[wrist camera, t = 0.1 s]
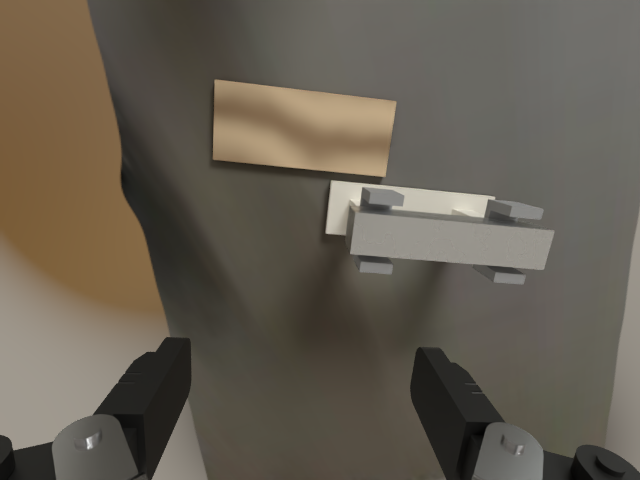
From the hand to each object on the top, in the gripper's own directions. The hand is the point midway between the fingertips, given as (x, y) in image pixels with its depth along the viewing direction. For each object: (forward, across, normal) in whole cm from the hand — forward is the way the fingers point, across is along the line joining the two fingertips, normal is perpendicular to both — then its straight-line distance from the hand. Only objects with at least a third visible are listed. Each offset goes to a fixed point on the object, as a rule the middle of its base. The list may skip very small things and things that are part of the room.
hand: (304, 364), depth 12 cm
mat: (+29, 0, -9) cm, 30 cm away
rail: (+20, -13, -1) cm, 24 cm away
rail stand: (+29, -13, -1) cm, 32 cm away
